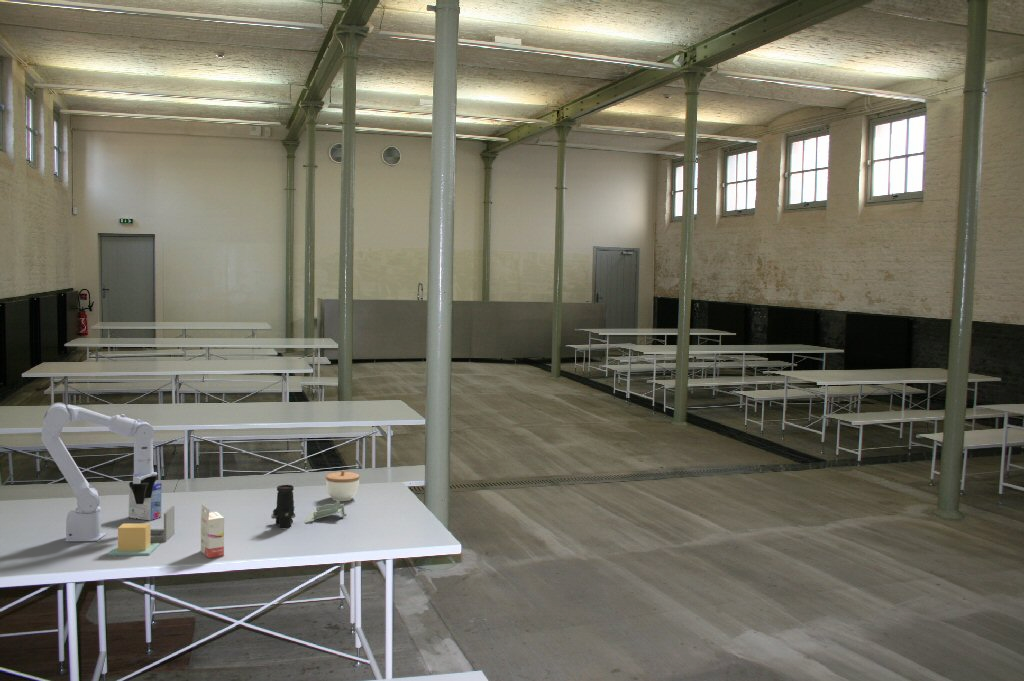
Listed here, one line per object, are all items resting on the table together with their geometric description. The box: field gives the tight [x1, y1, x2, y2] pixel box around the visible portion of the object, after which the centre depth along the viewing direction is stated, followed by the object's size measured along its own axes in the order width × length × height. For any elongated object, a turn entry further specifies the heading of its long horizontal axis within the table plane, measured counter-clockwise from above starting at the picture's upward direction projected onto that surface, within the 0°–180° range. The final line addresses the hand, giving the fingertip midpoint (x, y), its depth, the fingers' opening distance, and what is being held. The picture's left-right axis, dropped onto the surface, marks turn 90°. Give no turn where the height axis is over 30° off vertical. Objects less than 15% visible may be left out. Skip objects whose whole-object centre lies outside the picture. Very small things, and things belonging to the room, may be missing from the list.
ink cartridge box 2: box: [200, 503, 225, 559], centre depth 256 cm, size 9×5×15 cm, turn 35°
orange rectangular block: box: [117, 522, 151, 551], centre depth 257 cm, size 8×4×7 cm, turn 96°
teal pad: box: [107, 542, 161, 557], centre depth 258 cm, size 12×10×1 cm
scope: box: [270, 484, 296, 529], centre depth 287 cm, size 8×14×10 cm
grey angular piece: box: [150, 505, 175, 543], centre depth 270 cm, size 13×9×9 cm
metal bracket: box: [304, 501, 348, 524], centre depth 299 cm, size 14×6×15 cm
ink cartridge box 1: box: [128, 481, 162, 521], centre depth 293 cm, size 10×6×14 cm, turn 71°
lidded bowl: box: [325, 469, 360, 502], centre depth 325 cm, size 13×13×11 cm
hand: (143, 500), depth 275 cm, fingers open, 7 cm apart
